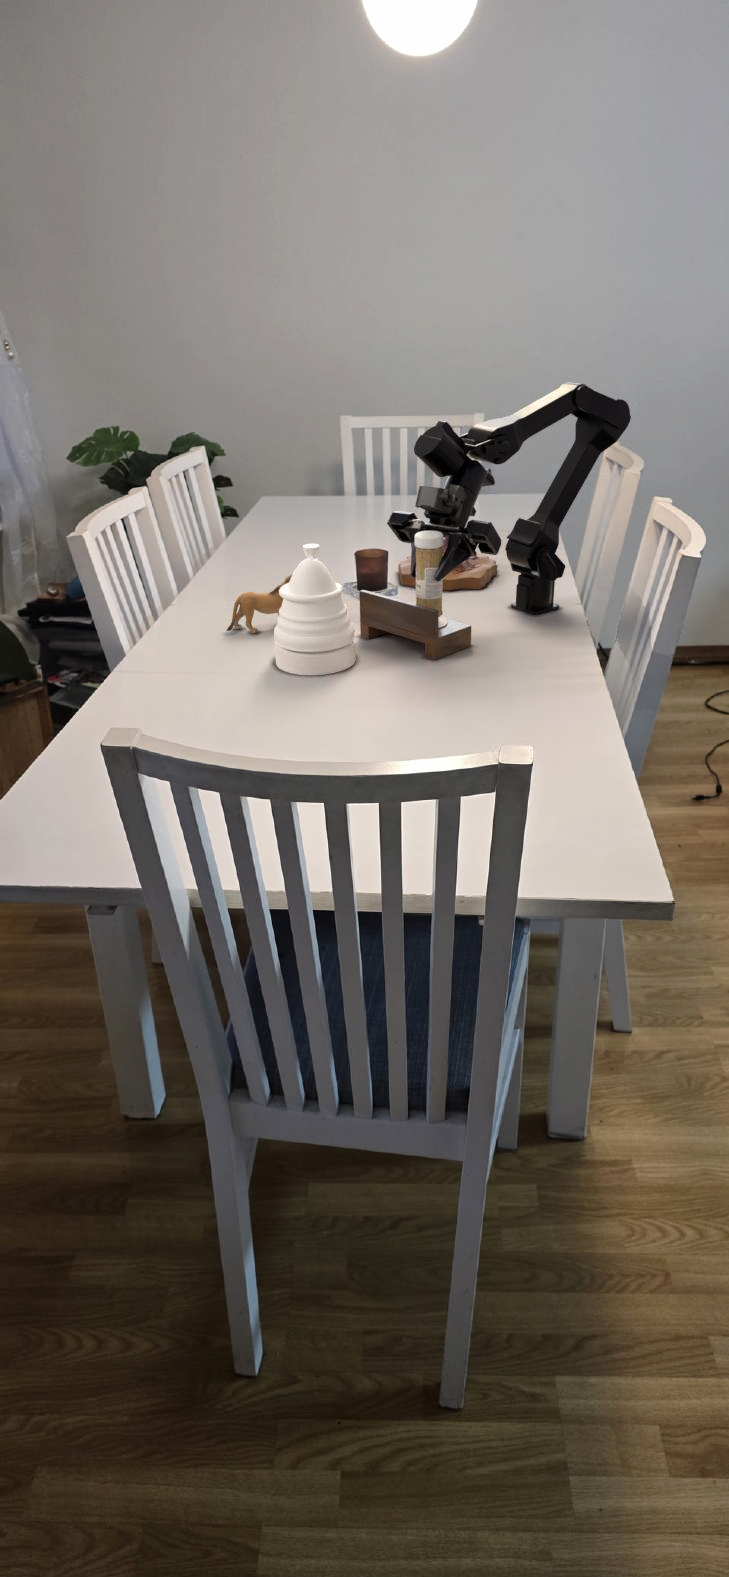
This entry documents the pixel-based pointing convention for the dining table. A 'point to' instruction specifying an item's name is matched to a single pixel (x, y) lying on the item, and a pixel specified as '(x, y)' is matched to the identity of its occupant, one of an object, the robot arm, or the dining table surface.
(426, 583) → the sprinkles bottle
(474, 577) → the plant
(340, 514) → the dining table surface
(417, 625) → the miniature wooden bench
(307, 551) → the honey pot
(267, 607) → the lion figurine
